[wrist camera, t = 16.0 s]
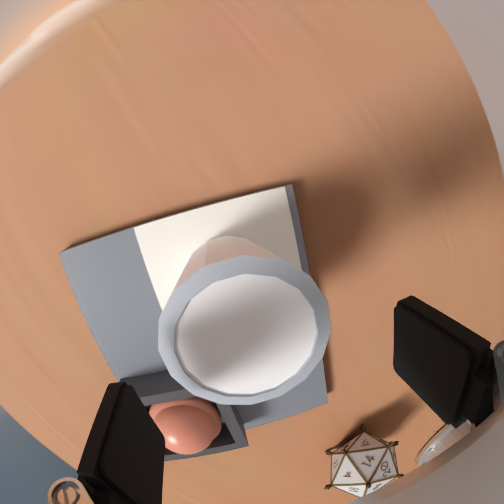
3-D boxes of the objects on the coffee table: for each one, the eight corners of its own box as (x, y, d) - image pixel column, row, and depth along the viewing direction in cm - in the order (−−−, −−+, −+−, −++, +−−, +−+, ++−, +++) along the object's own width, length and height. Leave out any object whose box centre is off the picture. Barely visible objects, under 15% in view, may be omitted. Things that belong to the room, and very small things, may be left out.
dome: (226, 419, 20) (234, 460, 16) (167, 431, 19) (165, 471, 15) (206, 373, 19) (209, 417, 14) (139, 387, 18) (131, 430, 14)
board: (323, 395, 22) (339, 421, 19) (162, 437, 21) (160, 466, 17) (287, 184, 17) (307, 185, 14) (64, 249, 16) (40, 264, 12)
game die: (325, 420, 29) (322, 455, 19) (395, 410, 27) (418, 440, 17) (325, 478, 26) (321, 523, 17) (391, 470, 24) (406, 511, 15)
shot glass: (224, 199, 16) (241, 213, 9) (306, 274, 18) (362, 324, 11) (149, 288, 16) (122, 352, 10) (234, 349, 18) (253, 426, 12)
